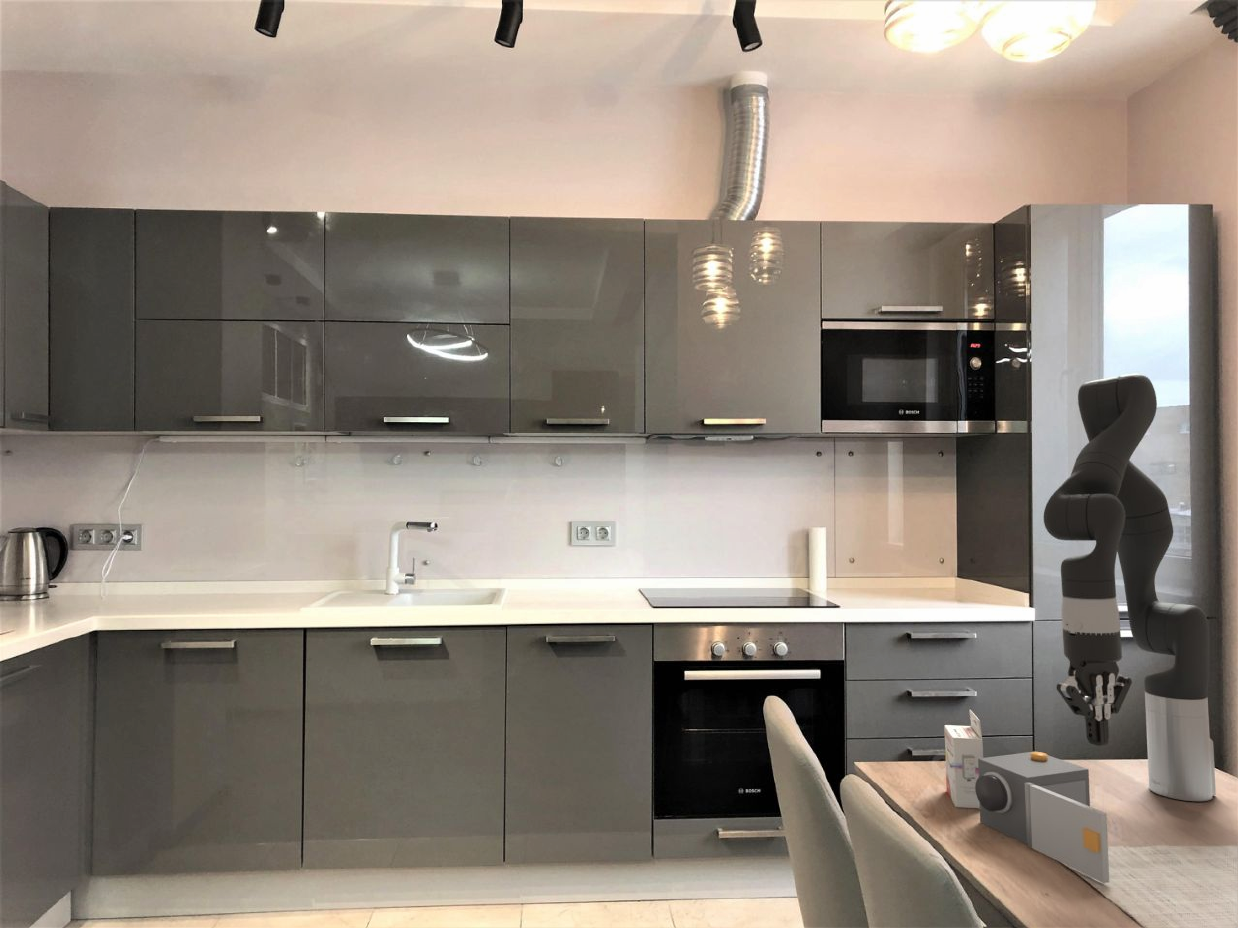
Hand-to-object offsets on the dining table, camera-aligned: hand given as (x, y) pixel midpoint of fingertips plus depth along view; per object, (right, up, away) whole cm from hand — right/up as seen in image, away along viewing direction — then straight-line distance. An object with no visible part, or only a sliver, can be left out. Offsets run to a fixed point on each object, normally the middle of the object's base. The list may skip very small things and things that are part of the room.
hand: (1098, 743), depth 120 cm
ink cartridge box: (-12, -17, +20) cm, 28 cm away
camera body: (-6, -16, +7) cm, 18 cm away
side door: (-9, -14, -7) cm, 18 cm away
